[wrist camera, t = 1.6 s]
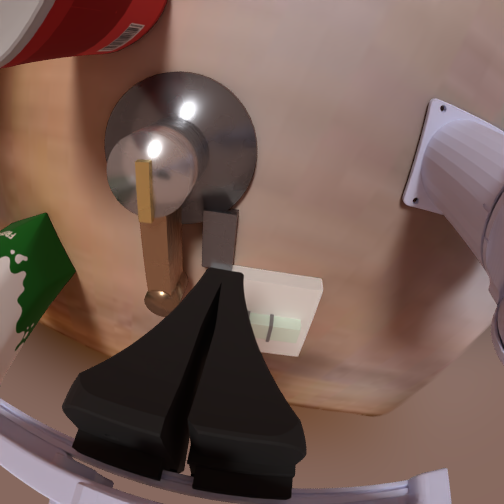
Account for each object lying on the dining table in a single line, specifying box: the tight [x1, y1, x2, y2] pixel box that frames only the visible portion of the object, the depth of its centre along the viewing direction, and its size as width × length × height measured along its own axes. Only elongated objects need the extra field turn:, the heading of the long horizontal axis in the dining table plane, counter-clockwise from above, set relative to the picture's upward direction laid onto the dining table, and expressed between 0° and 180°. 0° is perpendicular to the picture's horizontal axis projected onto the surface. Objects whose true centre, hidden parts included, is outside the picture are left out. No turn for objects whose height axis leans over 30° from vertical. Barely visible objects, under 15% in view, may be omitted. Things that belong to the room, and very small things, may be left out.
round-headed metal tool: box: [107, 117, 209, 317], centre depth 19 cm, size 14×5×5 cm, turn 173°
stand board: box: [232, 265, 323, 357], centre depth 25 cm, size 9×9×4 cm
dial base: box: [105, 72, 257, 271], centre depth 20 cm, size 11×14×1 cm
